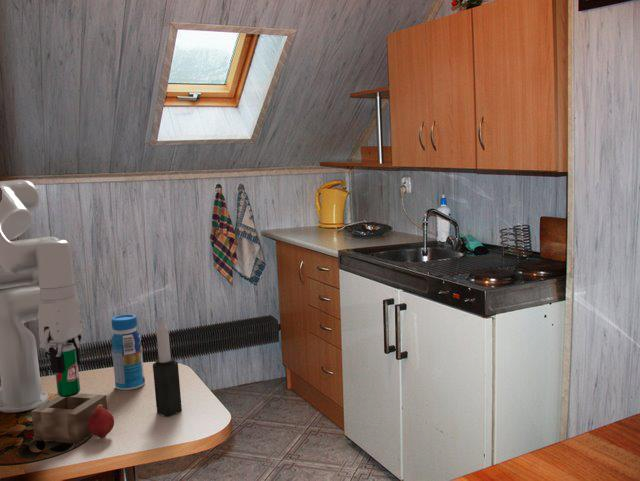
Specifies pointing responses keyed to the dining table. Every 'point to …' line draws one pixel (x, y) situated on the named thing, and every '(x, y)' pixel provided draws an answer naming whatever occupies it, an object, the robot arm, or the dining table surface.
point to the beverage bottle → (127, 353)
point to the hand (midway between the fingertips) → (66, 367)
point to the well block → (66, 417)
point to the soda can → (68, 372)
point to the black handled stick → (166, 375)
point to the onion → (100, 422)
